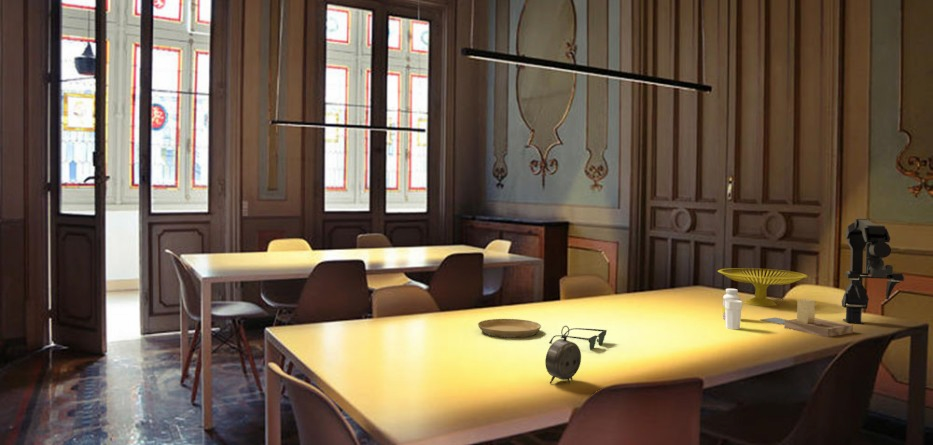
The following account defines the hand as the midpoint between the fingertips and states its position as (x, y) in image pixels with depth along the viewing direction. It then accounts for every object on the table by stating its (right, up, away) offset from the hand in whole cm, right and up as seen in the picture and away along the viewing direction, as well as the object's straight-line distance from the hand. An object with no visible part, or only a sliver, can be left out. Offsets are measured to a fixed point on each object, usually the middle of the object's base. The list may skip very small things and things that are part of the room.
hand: (873, 298), depth 255 cm
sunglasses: (-116, -15, -17) cm, 118 cm away
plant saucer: (-139, -13, 0) cm, 140 cm away
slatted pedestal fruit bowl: (-12, -11, +72) cm, 74 cm away
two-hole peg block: (-16, -14, +10) cm, 23 cm away
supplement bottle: (-42, -13, +31) cm, 54 cm away
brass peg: (-21, -14, +11) cm, 27 cm away
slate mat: (-24, -13, +27) cm, 38 cm away
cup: (-49, -13, +12) cm, 52 cm away
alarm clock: (-128, -17, -65) cm, 144 cm away
